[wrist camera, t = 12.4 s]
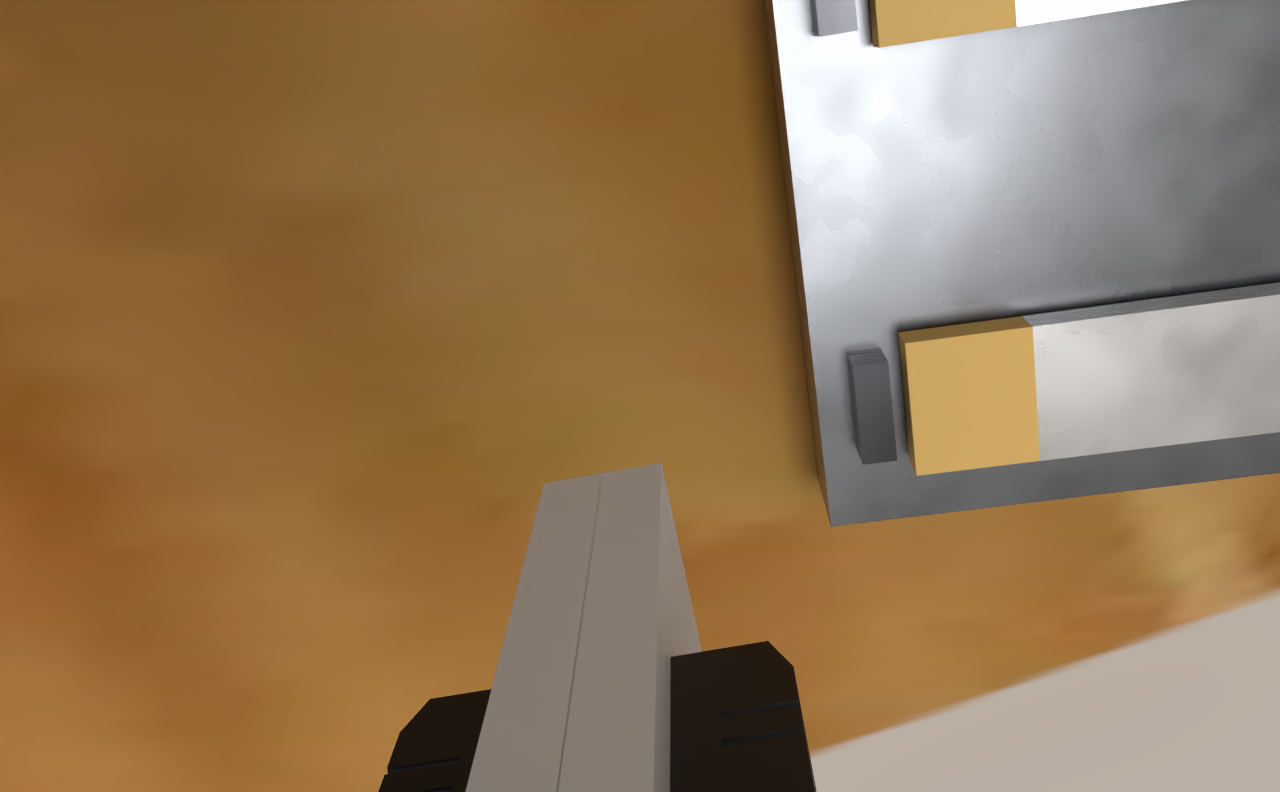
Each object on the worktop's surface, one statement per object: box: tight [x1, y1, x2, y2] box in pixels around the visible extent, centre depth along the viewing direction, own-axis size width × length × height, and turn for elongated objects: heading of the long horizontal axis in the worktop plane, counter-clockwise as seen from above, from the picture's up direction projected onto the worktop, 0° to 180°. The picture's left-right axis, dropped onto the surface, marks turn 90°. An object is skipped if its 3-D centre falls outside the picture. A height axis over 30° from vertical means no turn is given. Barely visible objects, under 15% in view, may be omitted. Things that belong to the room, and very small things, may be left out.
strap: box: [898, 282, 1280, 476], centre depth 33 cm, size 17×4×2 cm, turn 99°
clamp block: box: [764, 0, 1280, 526], centre depth 33 cm, size 20×22×7 cm
